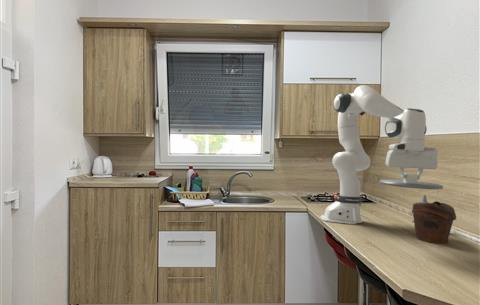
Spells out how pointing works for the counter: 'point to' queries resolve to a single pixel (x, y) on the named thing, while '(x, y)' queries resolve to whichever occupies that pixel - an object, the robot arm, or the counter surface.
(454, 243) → the counter surface
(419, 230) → the brown tapered pot
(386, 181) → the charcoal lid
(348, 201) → the robot arm
